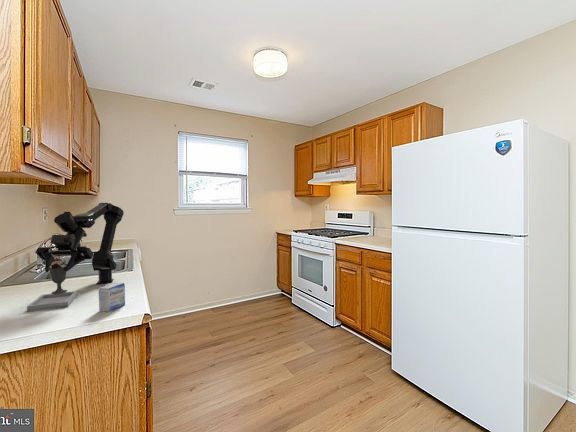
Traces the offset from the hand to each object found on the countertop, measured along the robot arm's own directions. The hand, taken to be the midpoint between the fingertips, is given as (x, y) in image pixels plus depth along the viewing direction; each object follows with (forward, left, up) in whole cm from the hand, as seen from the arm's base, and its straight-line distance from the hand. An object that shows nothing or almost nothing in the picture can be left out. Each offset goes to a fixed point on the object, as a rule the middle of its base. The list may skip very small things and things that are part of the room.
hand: (56, 271), depth 110 cm
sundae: (-1, 0, -9) cm, 9 cm away
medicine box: (+13, +20, -13) cm, 27 cm away
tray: (-3, -2, -13) cm, 14 cm away
